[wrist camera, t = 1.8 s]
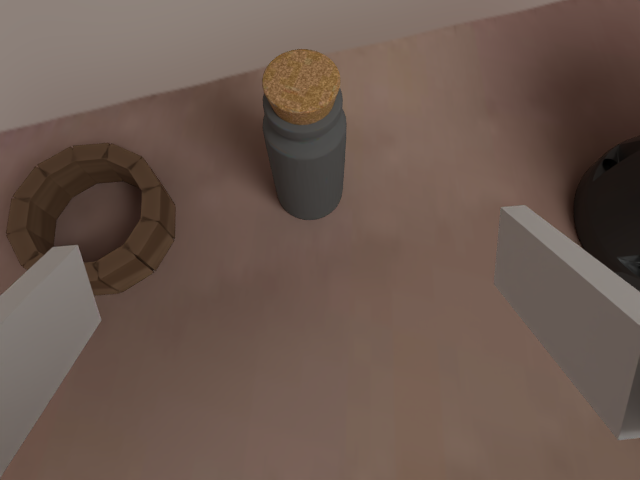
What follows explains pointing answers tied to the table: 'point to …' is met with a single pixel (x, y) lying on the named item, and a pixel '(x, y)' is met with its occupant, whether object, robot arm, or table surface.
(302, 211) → the bottle
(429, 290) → the table surface
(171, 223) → the bead ring
